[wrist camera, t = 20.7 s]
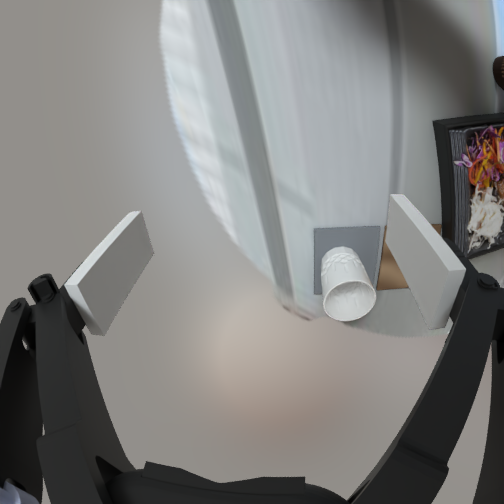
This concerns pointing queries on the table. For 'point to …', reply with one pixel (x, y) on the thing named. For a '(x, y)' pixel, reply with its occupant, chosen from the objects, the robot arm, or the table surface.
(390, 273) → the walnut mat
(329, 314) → the white cup
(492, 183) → the food platter
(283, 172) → the table surface
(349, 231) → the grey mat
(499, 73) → the coffee mug
